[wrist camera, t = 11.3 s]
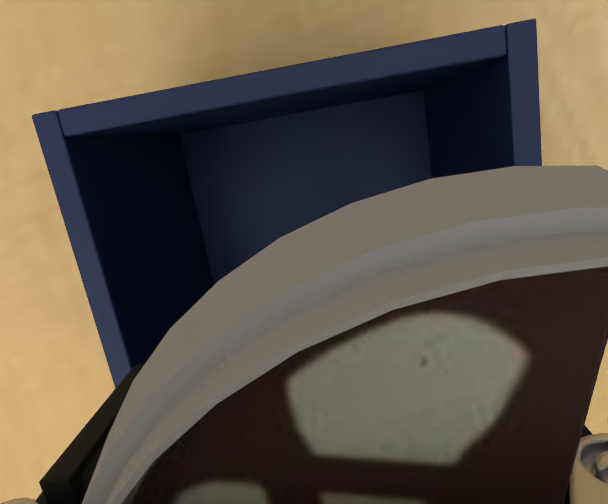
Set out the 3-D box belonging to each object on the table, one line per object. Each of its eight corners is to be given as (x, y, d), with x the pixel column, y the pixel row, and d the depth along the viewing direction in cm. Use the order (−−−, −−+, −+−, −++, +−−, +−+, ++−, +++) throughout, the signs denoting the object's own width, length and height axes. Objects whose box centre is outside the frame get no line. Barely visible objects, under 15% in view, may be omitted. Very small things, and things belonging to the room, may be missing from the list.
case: (166, 122, 25) (30, 114, 13) (433, 72, 24) (537, 17, 12) (228, 380, 29) (163, 545, 17) (459, 349, 28) (555, 506, 16)
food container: (223, 130, 13) (-72, 112, 3) (437, 148, 13) (760, 183, 3) (211, 486, 16) (35, 1004, 7) (383, 505, 16) (466, 1068, 6)
